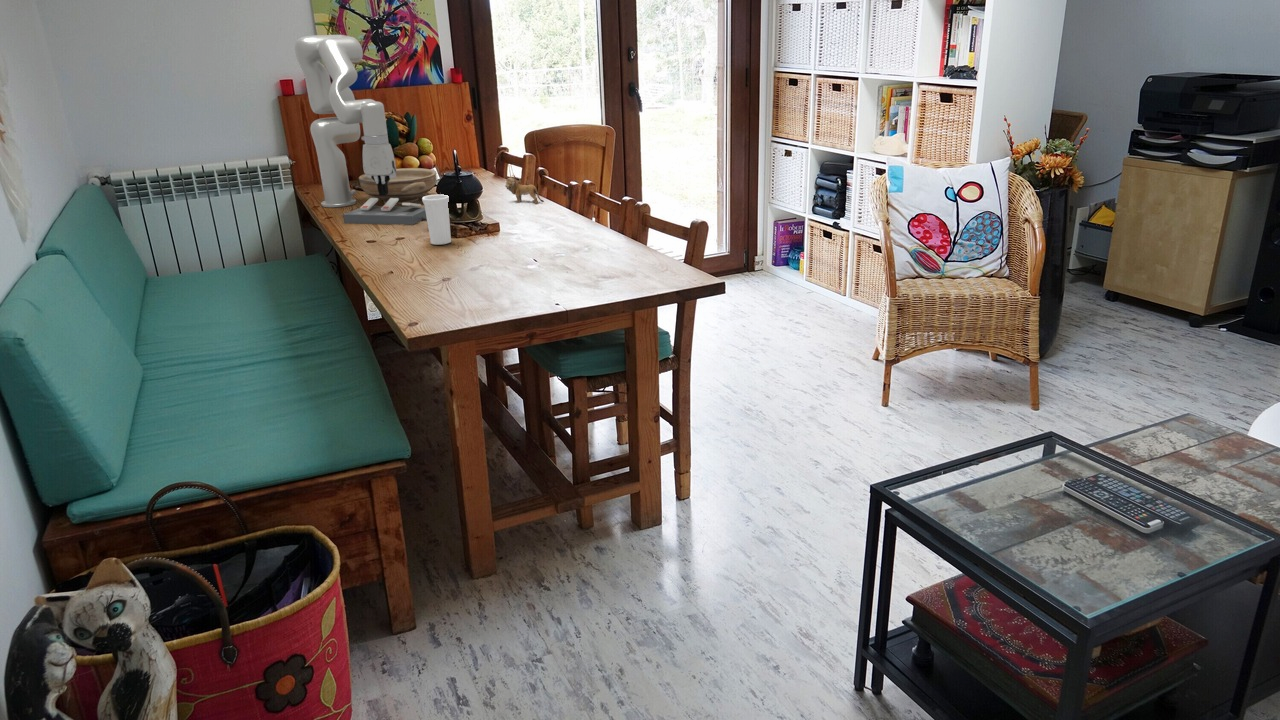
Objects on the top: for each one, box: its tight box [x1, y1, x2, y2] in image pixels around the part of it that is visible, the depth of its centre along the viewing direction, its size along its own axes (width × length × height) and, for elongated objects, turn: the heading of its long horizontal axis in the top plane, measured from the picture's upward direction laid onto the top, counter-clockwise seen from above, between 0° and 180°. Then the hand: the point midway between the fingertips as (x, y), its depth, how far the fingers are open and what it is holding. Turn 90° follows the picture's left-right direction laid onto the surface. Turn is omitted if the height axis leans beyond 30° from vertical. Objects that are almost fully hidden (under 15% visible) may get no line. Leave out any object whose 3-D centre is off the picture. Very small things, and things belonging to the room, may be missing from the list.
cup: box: [421, 193, 452, 246], centre depth 263 cm, size 8×8×14 cm
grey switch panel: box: [342, 205, 427, 226], centre depth 299 cm, size 14×32×3 cm, turn 76°
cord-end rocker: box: [401, 202, 422, 207], centre depth 299 cm, size 8×3×1 cm, turn 166°
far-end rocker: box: [359, 197, 379, 210], centre depth 302 cm, size 8×3×1 cm, turn 166°
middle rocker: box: [381, 198, 399, 211], centre depth 300 cm, size 8×3×1 cm, turn 166°
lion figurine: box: [505, 177, 545, 205], centre depth 319 cm, size 15×5×9 cm, turn 74°
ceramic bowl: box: [358, 167, 437, 205], centre depth 329 cm, size 37×29×10 cm
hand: (383, 194), depth 297 cm, fingers closed
